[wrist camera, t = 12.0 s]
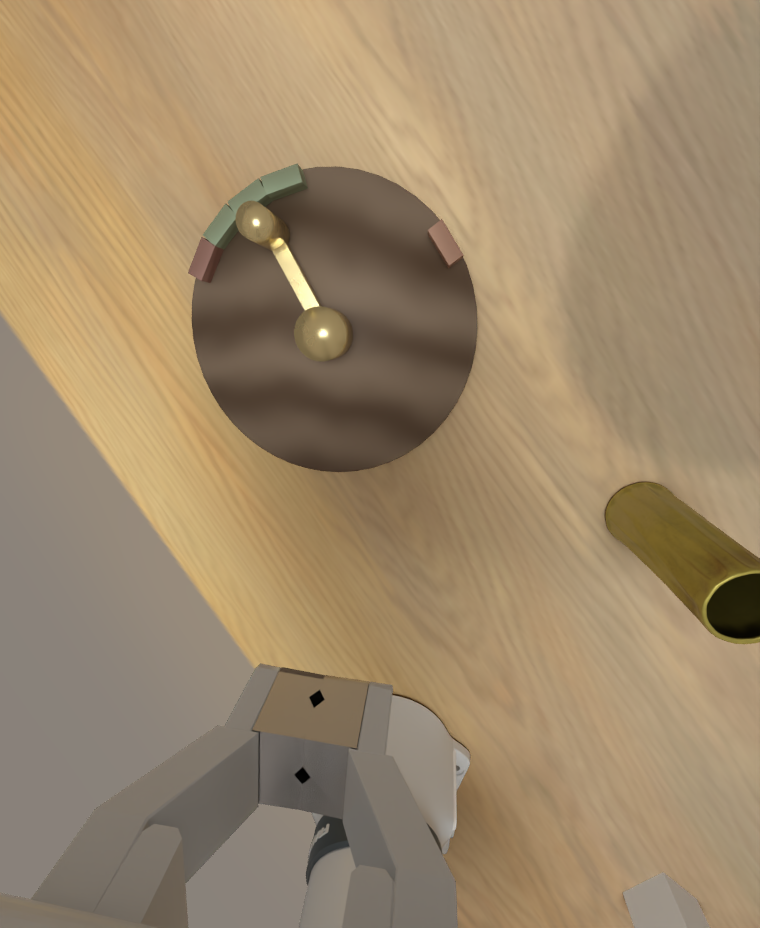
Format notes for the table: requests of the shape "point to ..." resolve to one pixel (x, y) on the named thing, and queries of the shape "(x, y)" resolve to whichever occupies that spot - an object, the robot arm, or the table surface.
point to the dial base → (350, 292)
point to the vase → (691, 559)
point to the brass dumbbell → (297, 286)
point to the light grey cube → (663, 905)
